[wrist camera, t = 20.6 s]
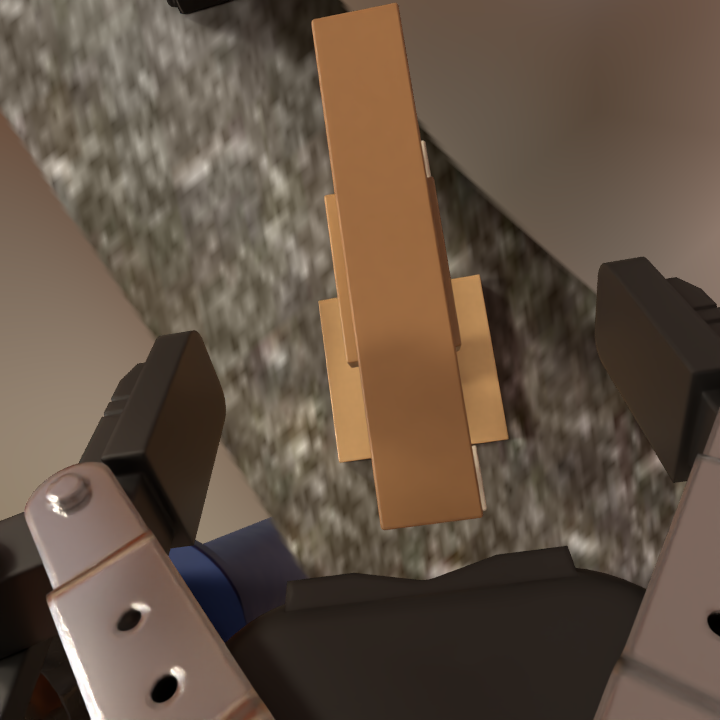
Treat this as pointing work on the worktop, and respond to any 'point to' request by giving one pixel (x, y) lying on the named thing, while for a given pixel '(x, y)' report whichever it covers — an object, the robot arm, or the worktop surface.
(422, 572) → the worktop surface
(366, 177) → the brown blocky piece
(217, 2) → the portable radio
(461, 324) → the headphone stand
